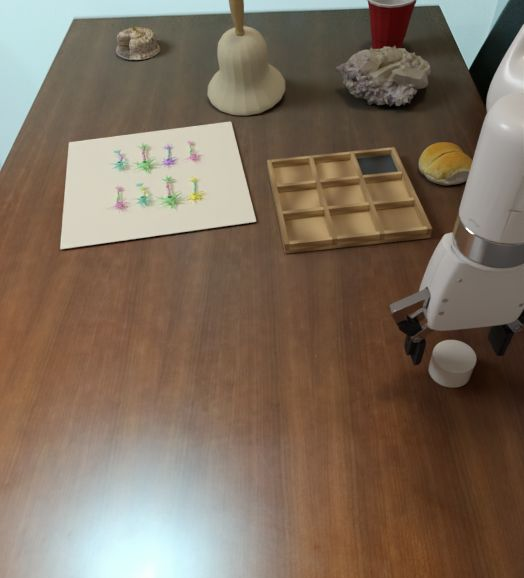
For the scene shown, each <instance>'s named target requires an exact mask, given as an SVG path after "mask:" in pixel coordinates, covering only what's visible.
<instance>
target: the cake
mask: <svg viewBox="0 0 524 578" xmlns="http://www.w3.org/2000/svg"><path fill="white" fill-rule="evenodd" d="M158 41H159V40H158V39H157V36H156V34H155V32H154V31H153V30H152V29H150V28H146V27H140V26H138V27H137V26H133V27H128V28H127V29H123V30H121V31H119V32H118V33H117V35H116V42H117V44H116V48H115V54H116V55H117V56H118V57H120V58H122V59H124V60H129V61H141V60H147V59H150V58H153V57H155V56H157V55H158V54H159V53H160V52H161V46H160V45H159V43H158Z"/></svg>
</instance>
